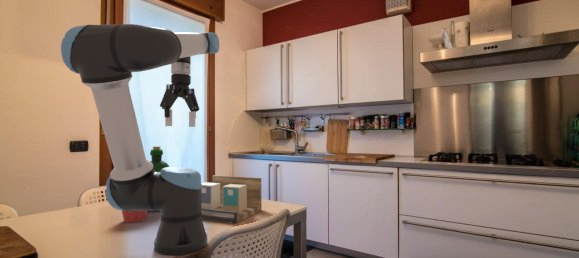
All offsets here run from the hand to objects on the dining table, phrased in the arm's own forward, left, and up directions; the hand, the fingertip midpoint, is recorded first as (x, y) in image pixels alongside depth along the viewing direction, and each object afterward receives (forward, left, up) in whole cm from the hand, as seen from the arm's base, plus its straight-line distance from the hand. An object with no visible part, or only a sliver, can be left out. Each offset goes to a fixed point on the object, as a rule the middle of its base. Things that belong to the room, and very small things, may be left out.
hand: (181, 126), depth 123 cm
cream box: (+10, -6, -35) cm, 37 cm away
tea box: (+10, -19, -35) cm, 41 cm away
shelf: (+11, -14, -37) cm, 41 cm away
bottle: (+5, +18, -37) cm, 41 cm away
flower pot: (-10, +14, -37) cm, 41 cm away
